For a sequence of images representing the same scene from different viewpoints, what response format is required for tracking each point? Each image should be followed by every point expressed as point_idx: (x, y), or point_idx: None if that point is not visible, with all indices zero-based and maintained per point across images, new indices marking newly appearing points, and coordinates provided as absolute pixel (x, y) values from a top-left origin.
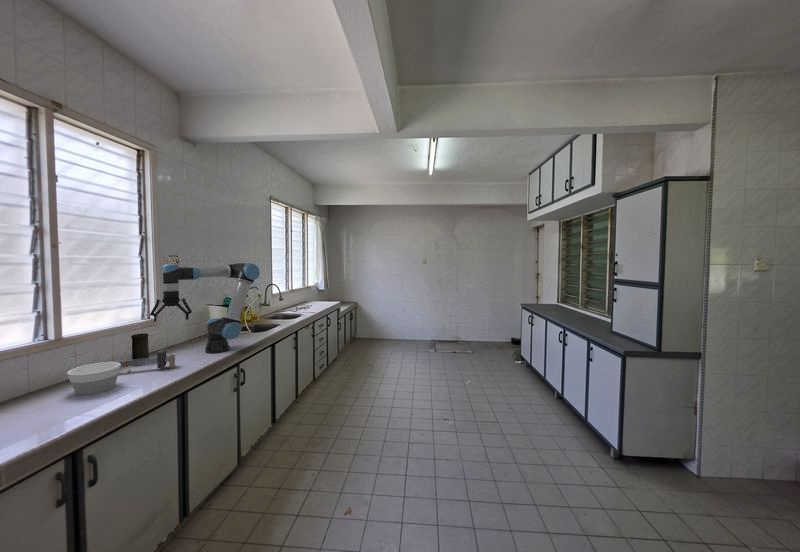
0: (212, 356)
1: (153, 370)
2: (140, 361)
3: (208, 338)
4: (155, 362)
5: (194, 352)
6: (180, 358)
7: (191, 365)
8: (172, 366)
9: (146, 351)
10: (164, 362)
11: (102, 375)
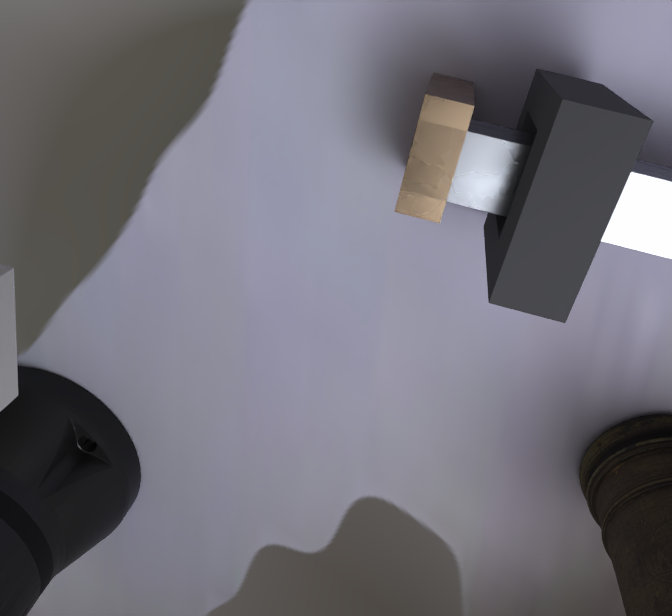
0: (76, 290)
1: None
2: None
3: (34, 545)
4: None
5: (221, 510)
6: (336, 409)
7: (260, 80)
8: (443, 79)
9: (647, 526)
10: None
11: None
